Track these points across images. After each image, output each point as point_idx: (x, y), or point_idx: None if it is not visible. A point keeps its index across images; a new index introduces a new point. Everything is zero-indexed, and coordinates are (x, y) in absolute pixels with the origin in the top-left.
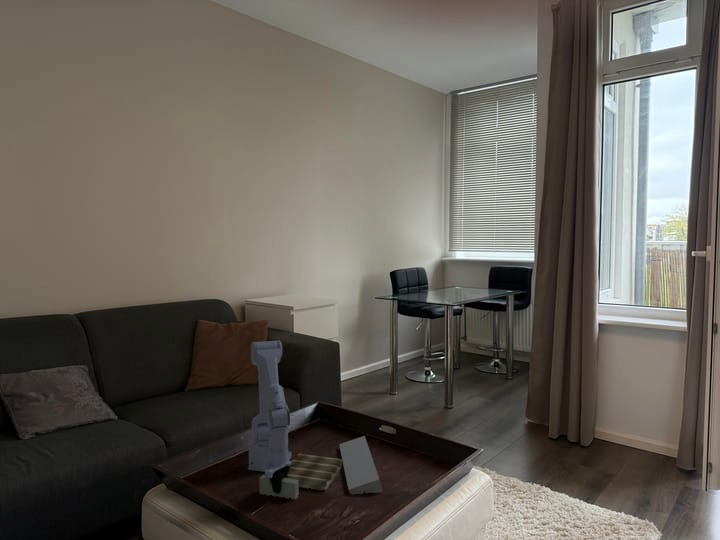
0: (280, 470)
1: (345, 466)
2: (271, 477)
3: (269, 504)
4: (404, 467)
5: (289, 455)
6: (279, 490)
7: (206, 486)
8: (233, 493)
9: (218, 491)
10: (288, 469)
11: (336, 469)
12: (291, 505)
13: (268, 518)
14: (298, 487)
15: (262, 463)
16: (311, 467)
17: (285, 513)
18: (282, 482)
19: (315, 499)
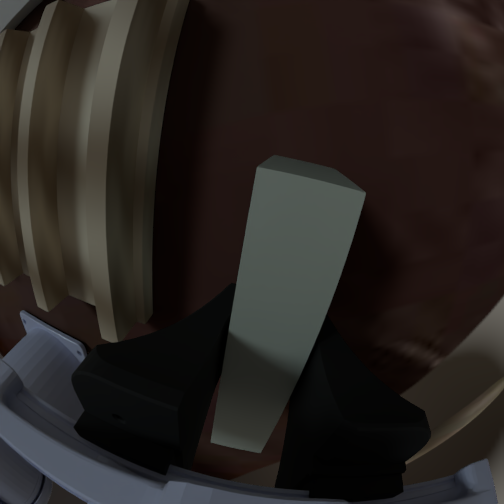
0: (197, 418)
1: (3, 22)
2: (487, 462)
3: (388, 322)
4: None
5: (8, 442)
6: (327, 316)
7: (238, 474)
8: (274, 441)
9: (263, 462)
10: (184, 375)
11: (17, 30)
12: (414, 188)
13: (499, 291)
14: (271, 160)
15: (75, 395)
16: (3, 172)
17: (485, 215)
18: (315, 338)
19: (318, 27)
